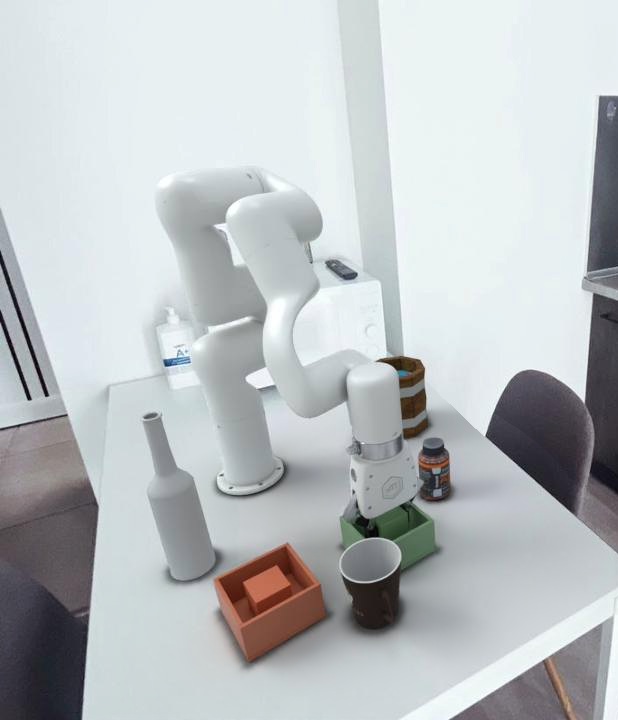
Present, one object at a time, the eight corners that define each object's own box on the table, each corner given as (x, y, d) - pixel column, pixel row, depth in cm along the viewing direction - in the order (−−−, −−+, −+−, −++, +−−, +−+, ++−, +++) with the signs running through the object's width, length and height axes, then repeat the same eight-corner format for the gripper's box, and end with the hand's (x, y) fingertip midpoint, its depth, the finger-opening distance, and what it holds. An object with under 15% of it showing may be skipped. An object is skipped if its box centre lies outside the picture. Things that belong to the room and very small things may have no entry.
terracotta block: (249, 607, 80) (242, 582, 78) (282, 589, 83) (276, 564, 81) (262, 629, 77) (255, 603, 75) (296, 609, 80) (290, 584, 78)
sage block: (367, 535, 91) (364, 511, 89) (393, 521, 94) (390, 498, 92) (383, 551, 88) (381, 526, 86) (409, 536, 91) (407, 512, 89)
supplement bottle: (446, 503, 103) (444, 452, 98) (416, 499, 104) (412, 449, 99) (454, 484, 108) (452, 435, 103) (425, 481, 109) (422, 432, 104)
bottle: (217, 546, 93) (179, 401, 81) (214, 574, 87) (173, 422, 76) (173, 556, 91) (128, 408, 79) (168, 585, 85) (118, 431, 74)
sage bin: (343, 546, 92) (339, 516, 90) (398, 517, 99) (396, 488, 97) (378, 584, 85) (374, 553, 82) (435, 550, 91) (434, 520, 89)
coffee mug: (350, 590, 84) (343, 539, 80) (406, 586, 84) (402, 535, 80) (339, 658, 73) (330, 603, 69) (403, 653, 74) (398, 598, 70)
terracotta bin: (221, 610, 80) (212, 578, 78) (293, 572, 87) (287, 541, 85) (248, 662, 73) (240, 628, 70) (326, 616, 79) (320, 583, 77)
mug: (408, 405, 138) (404, 351, 132) (440, 426, 128) (437, 368, 122) (337, 432, 126) (329, 374, 120) (366, 457, 117) (360, 395, 111)
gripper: (340, 474, 76) (354, 573, 83) (438, 431, 86) (442, 523, 93) (316, 452, 81) (331, 547, 88) (410, 414, 91) (417, 502, 98)
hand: (388, 534), depth 91 cm, fingers closed on sage block, 5 cm apart
